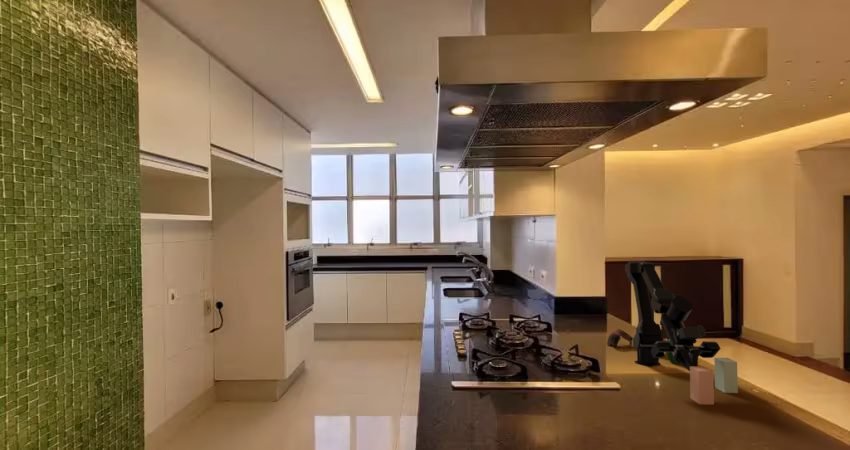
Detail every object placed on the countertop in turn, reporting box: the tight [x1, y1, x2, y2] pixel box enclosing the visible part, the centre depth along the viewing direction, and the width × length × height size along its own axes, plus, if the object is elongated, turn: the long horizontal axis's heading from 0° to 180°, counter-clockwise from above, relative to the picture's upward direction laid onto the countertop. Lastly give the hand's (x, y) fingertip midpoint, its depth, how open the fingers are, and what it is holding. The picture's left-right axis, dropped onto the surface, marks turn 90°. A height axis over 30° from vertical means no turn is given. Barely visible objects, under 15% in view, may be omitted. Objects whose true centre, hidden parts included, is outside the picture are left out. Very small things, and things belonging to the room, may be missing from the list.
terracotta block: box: [689, 365, 715, 405], centre depth 123 cm, size 4×4×10 cm
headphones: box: [606, 328, 634, 348], centre depth 183 cm, size 12×10×8 cm
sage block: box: [713, 357, 739, 394], centre depth 132 cm, size 4×4×10 cm
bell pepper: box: [665, 339, 681, 365], centre depth 160 cm, size 8×8×10 cm
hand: (696, 375), depth 126 cm, fingers closed, pressing on terracotta block
